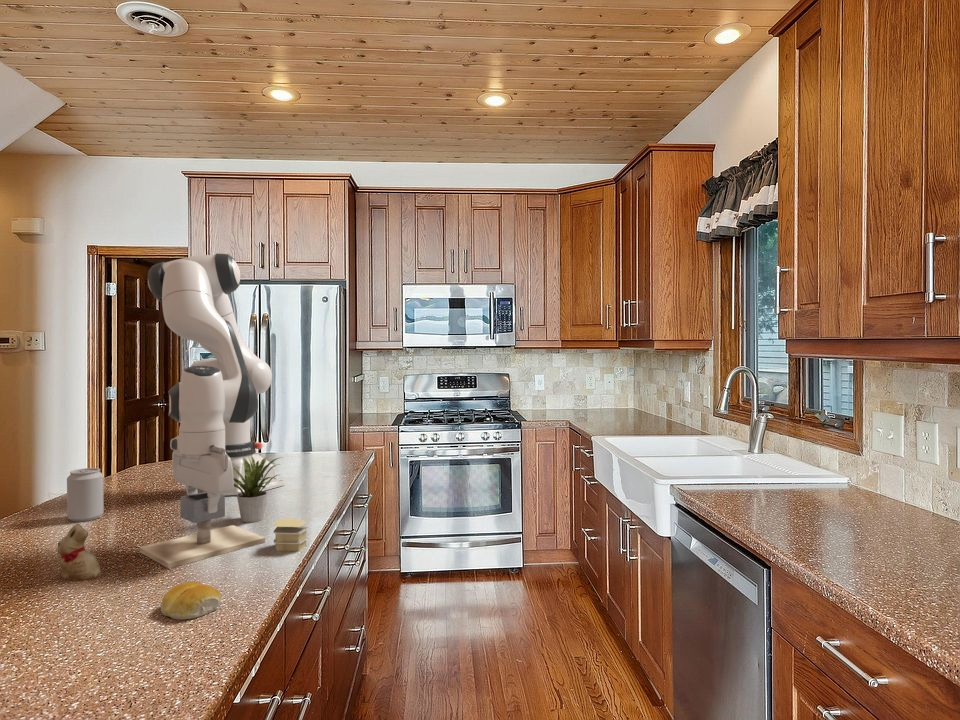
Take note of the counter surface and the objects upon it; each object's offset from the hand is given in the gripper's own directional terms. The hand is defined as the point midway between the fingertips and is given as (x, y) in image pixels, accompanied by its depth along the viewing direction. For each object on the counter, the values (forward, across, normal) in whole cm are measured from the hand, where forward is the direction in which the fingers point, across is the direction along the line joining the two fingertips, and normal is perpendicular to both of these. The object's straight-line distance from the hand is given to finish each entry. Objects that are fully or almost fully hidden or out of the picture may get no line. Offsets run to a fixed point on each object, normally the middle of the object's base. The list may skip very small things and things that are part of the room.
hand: (202, 508), depth 124 cm
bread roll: (+9, -28, +15) cm, 32 cm away
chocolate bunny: (+8, +2, +22) cm, 23 cm away
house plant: (+8, +10, -18) cm, 22 cm away
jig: (+8, 0, 0) cm, 8 cm away
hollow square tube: (+2, 0, 0) cm, 2 cm away
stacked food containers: (+9, -14, -12) cm, 20 cm away
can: (+8, +43, +9) cm, 45 cm away
